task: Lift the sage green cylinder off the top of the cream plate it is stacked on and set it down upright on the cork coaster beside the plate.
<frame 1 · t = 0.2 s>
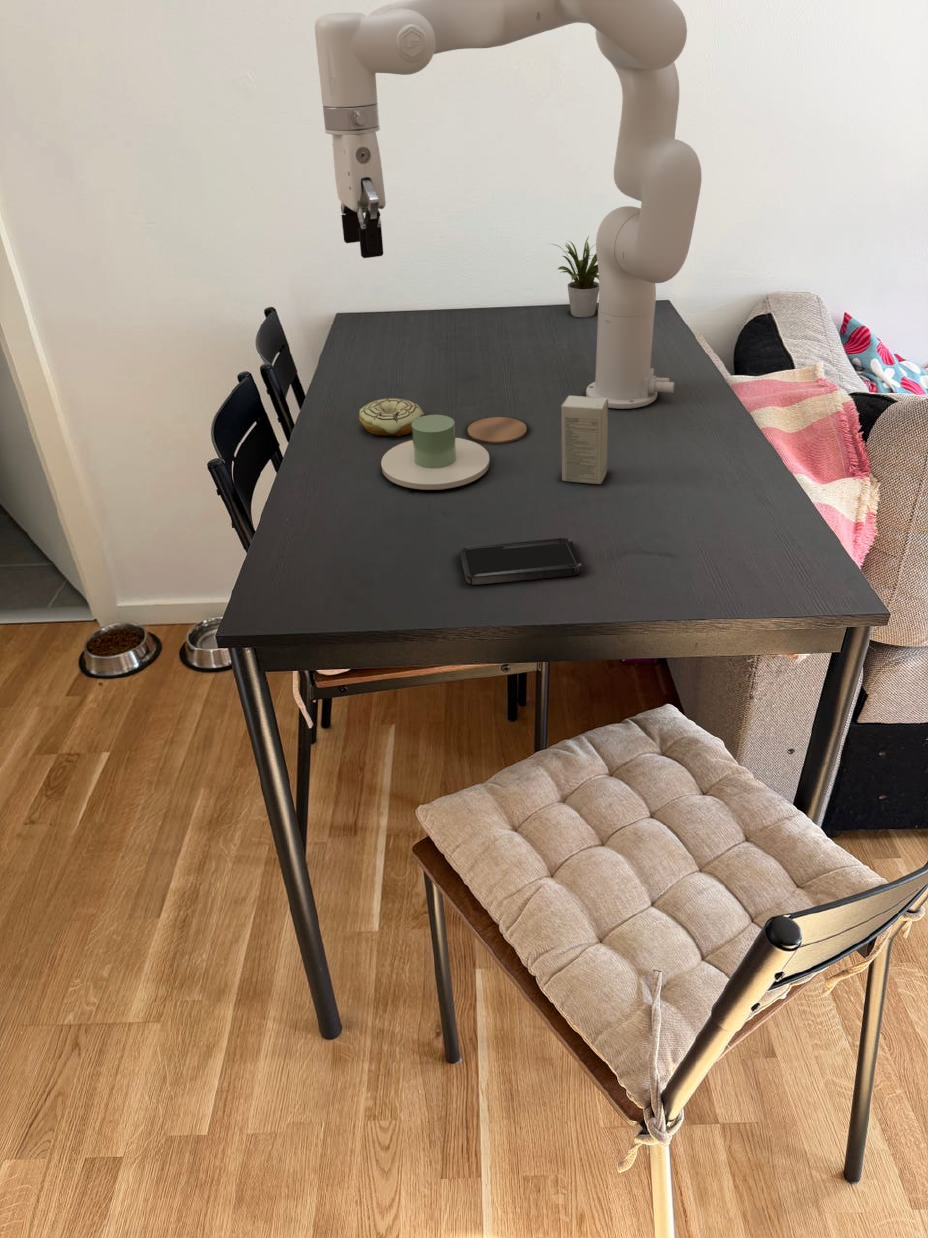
hand: (363, 248, 140), 31 cm above the table, tool pointing down, fingers open, 9 cm apart
sage green cylinder: (435, 458, 148), point 2 cm above the table, touching plate
plate: (435, 468, 149), on the table, touching sage green cylinder
decorated donut: (392, 428, 163), on the table
coaster: (497, 430, 160), on the table
cosmetic box: (583, 478, 145), on the table
house plant: (576, 315, 210), on the table
phone: (520, 565, 125), on the table
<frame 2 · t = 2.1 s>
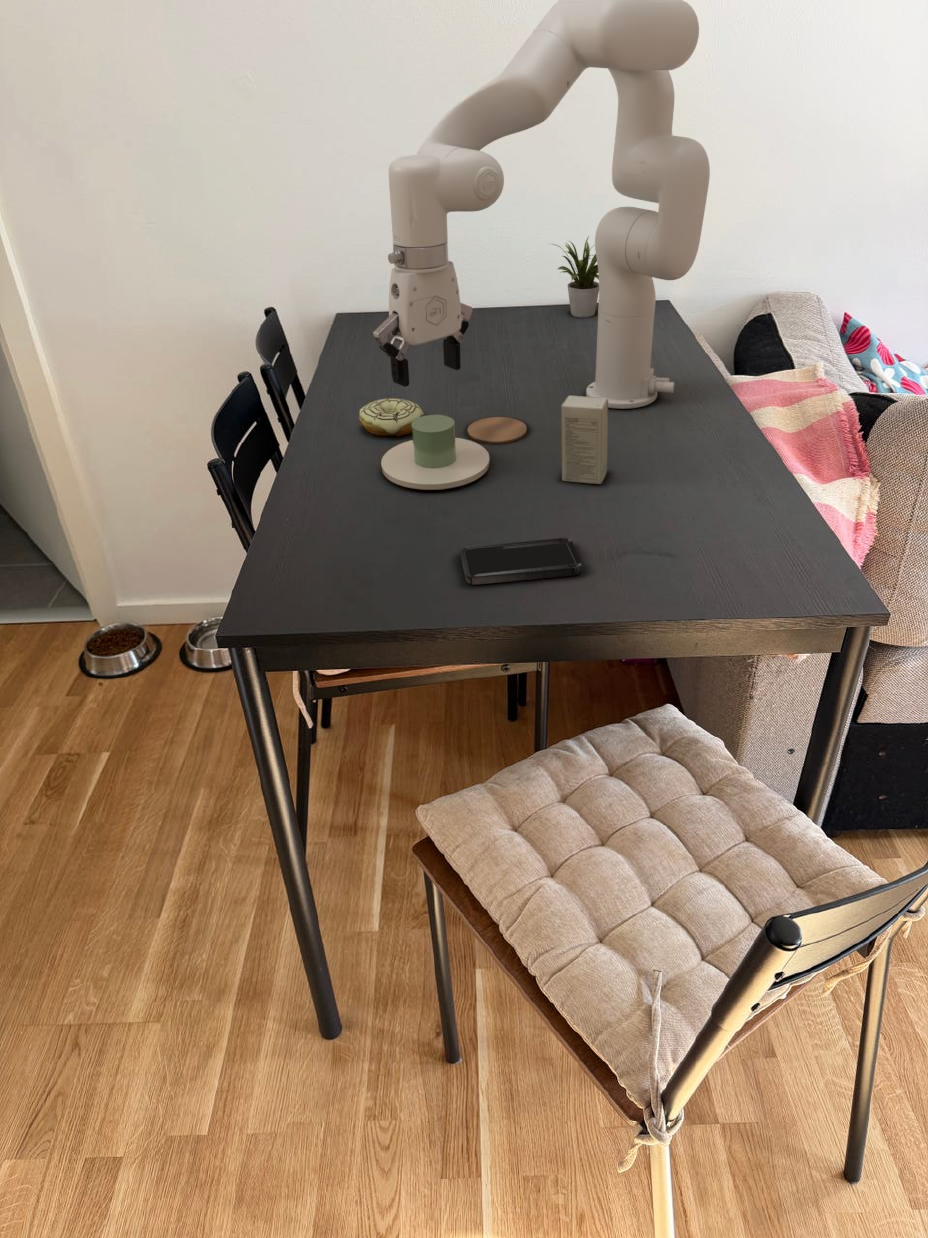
hand: (427, 375, 140), 15 cm above the table, tool pointing down, fingers open, 9 cm apart
nothing on the table moved.
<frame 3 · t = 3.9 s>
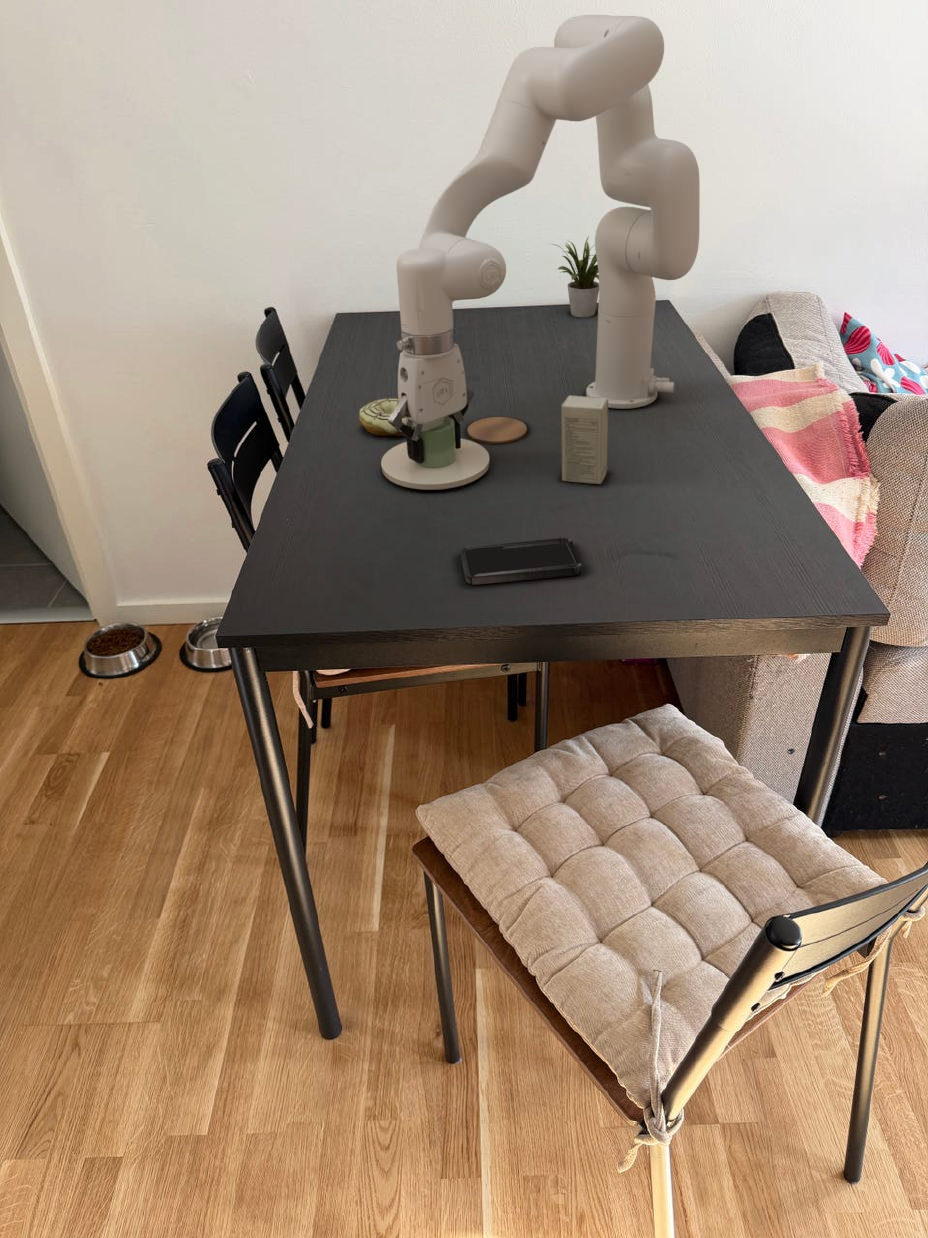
hand: (434, 452, 148), 3 cm above the table, tool pointing down, fingers closed on sage green cylinder, 6 cm apart
sage green cylinder: (435, 459, 148), point 2 cm above the table, touching gripper, plate
everything else where it was.
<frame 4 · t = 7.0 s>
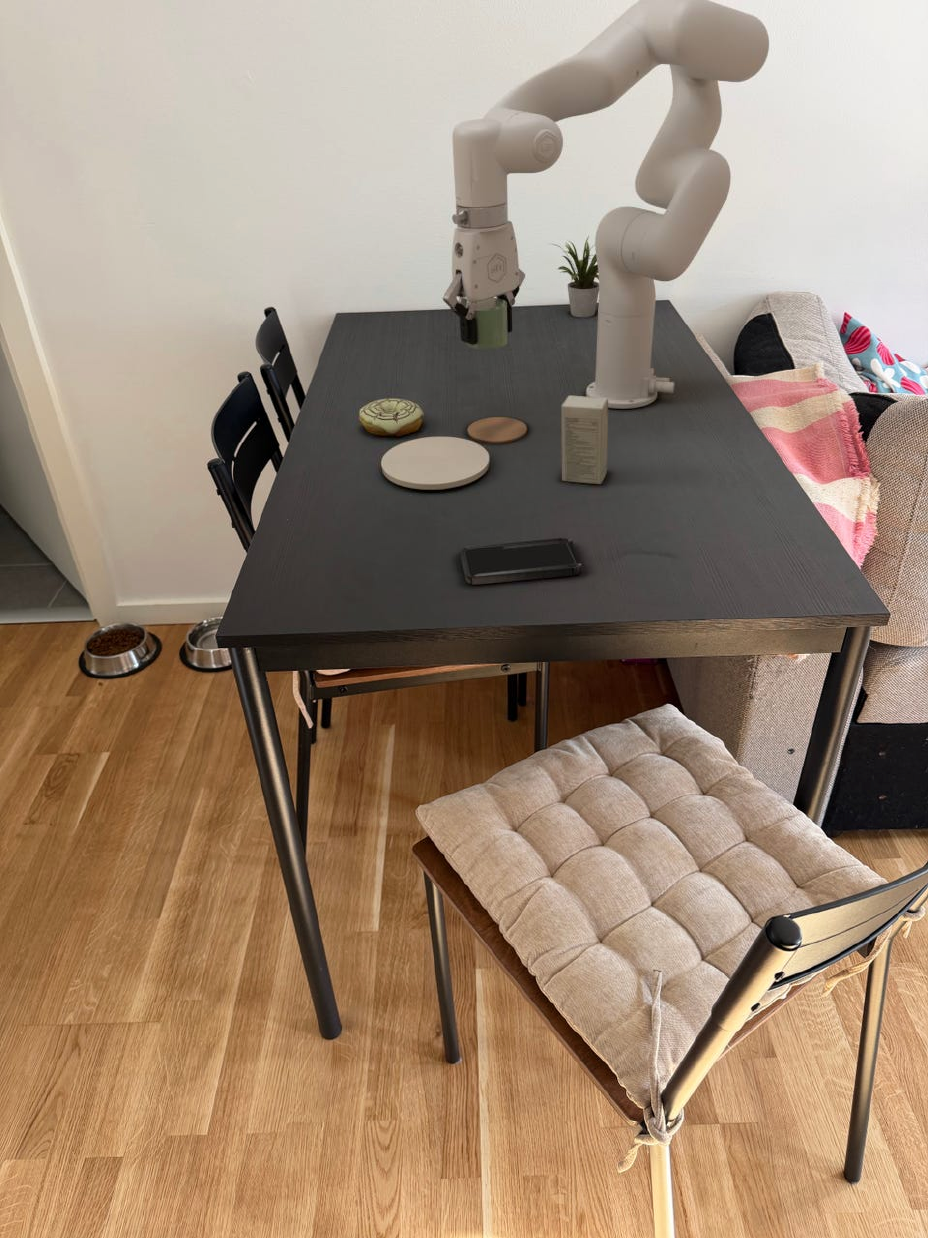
hand: (486, 335, 149), 17 cm above the table, tool pointing down, fingers closed on sage green cylinder, 6 cm apart
sage green cylinder: (487, 342, 149), point 16 cm above the table, touching gripper
plate: (435, 468, 149), on the table
everything else where it was.
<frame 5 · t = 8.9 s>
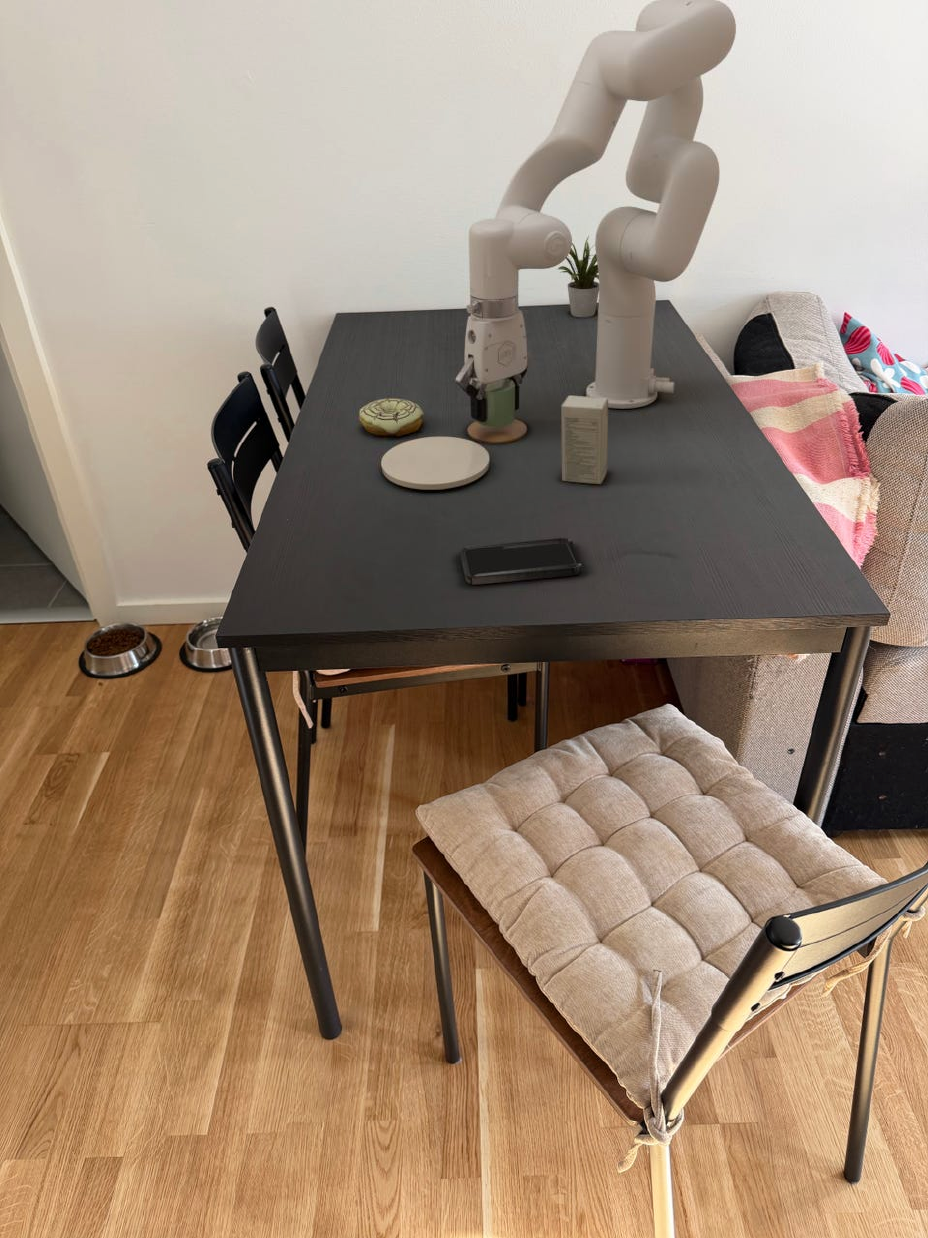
hand: (495, 412, 158), 3 cm above the table, tool pointing down, fingers closed on sage green cylinder, 6 cm apart
sage green cylinder: (495, 418, 159), point 2 cm above the table, touching gripper
everything else where it was.
when the fingers open (1 cm above the table, at t = 10.0 s): sage green cylinder stays where it is, resting on coaster.
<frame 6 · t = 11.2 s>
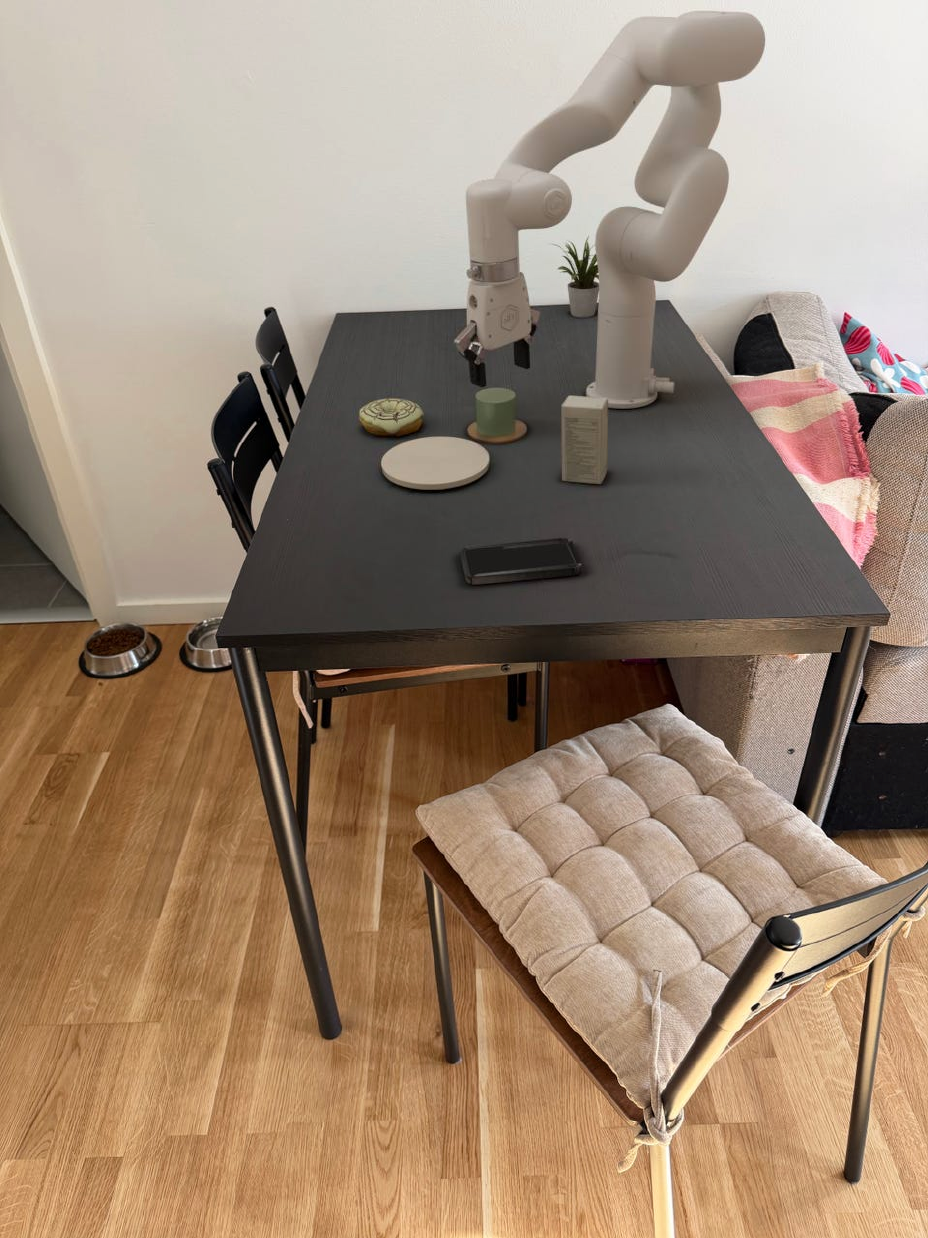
hand: (500, 375, 155), 9 cm above the table, tool pointing down, fingers open, 9 cm apart
sage green cylinder: (496, 428, 160), resting on coaster
everything else where it was.
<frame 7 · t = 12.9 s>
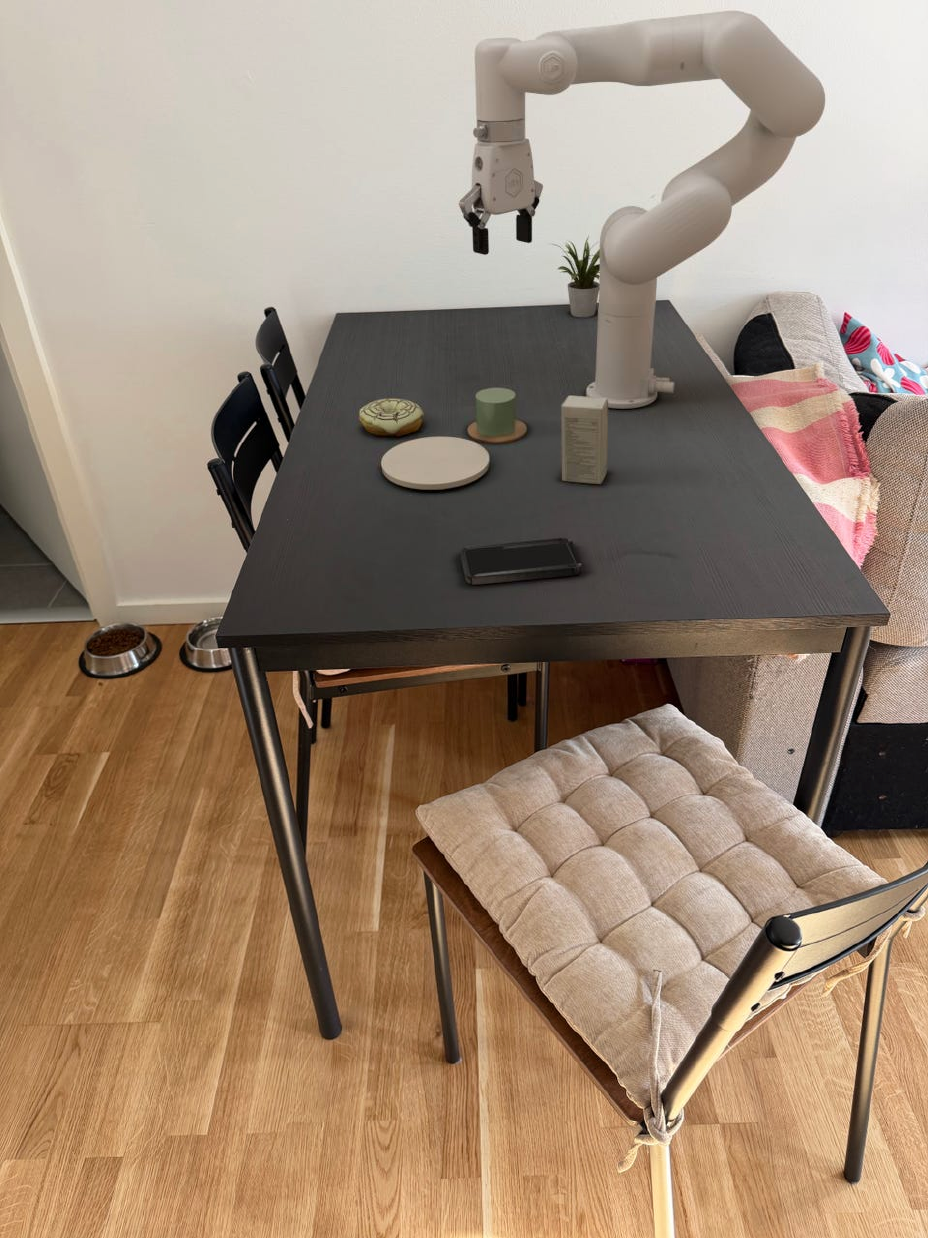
hand: (502, 247, 156), 26 cm above the table, tool pointing down, fingers open, 9 cm apart
nothing on the table moved.
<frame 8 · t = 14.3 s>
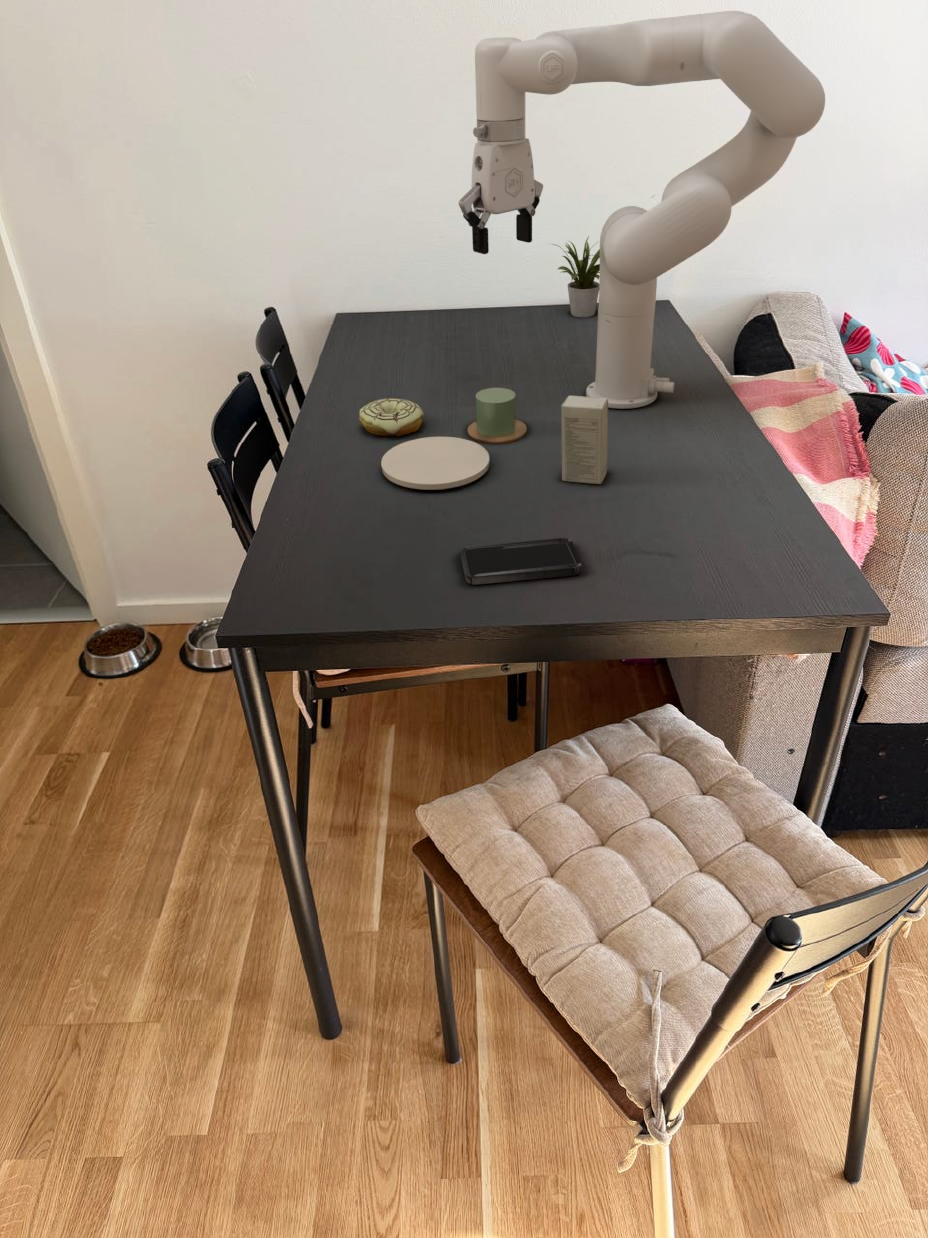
hand: (502, 246, 156), 26 cm above the table, tool pointing down, fingers open, 9 cm apart
nothing on the table moved.
at the end: sage green cylinder 0.1 cm off-centre on the coaster, point 0.4 cm above the coaster's base; sage green cylinder tilted 0°; plate moved 0.0 cm from its start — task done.
